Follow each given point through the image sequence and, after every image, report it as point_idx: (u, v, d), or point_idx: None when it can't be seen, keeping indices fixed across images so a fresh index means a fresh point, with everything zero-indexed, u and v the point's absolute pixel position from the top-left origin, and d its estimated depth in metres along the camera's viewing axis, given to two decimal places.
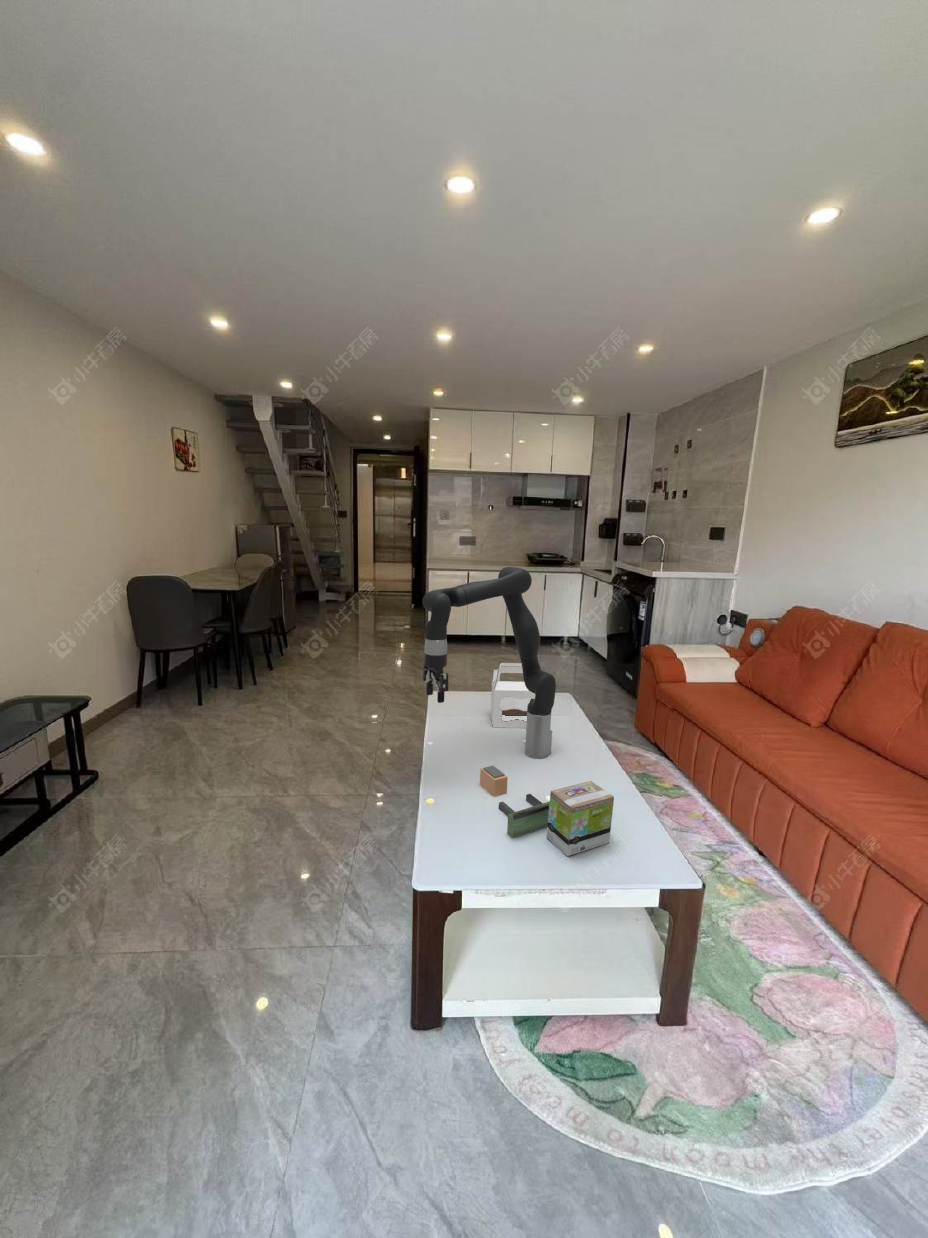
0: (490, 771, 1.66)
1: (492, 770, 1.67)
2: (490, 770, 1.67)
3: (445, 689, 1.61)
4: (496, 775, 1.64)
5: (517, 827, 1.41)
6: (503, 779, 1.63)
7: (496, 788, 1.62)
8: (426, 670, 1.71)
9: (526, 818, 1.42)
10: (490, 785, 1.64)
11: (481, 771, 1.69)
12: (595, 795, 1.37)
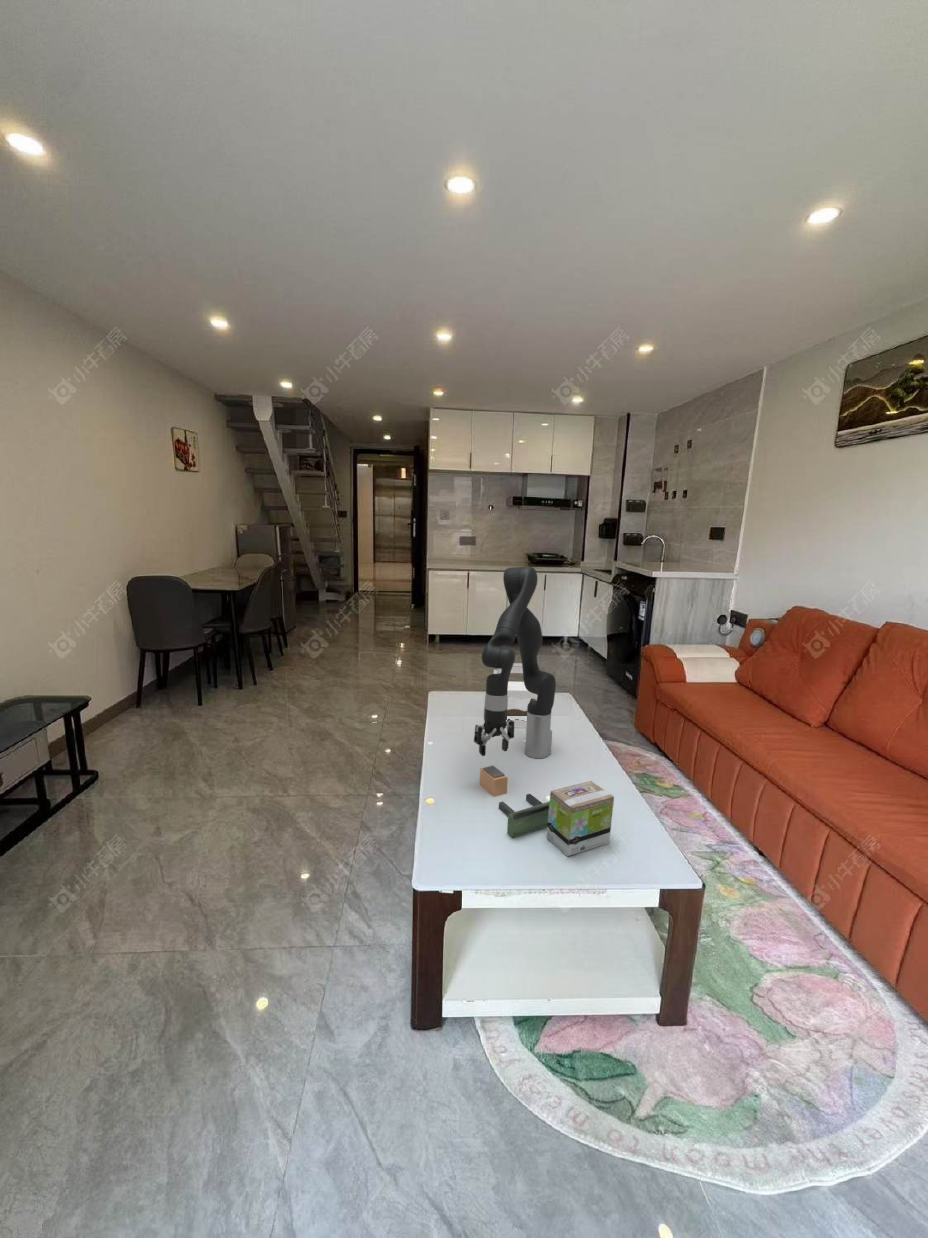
0: (490, 771, 1.66)
1: (492, 770, 1.67)
2: (490, 770, 1.67)
3: None
4: (496, 775, 1.64)
5: (517, 827, 1.41)
6: (503, 779, 1.63)
7: (496, 788, 1.62)
8: None
9: (526, 818, 1.42)
10: (491, 785, 1.64)
11: (481, 771, 1.69)
12: (595, 795, 1.37)
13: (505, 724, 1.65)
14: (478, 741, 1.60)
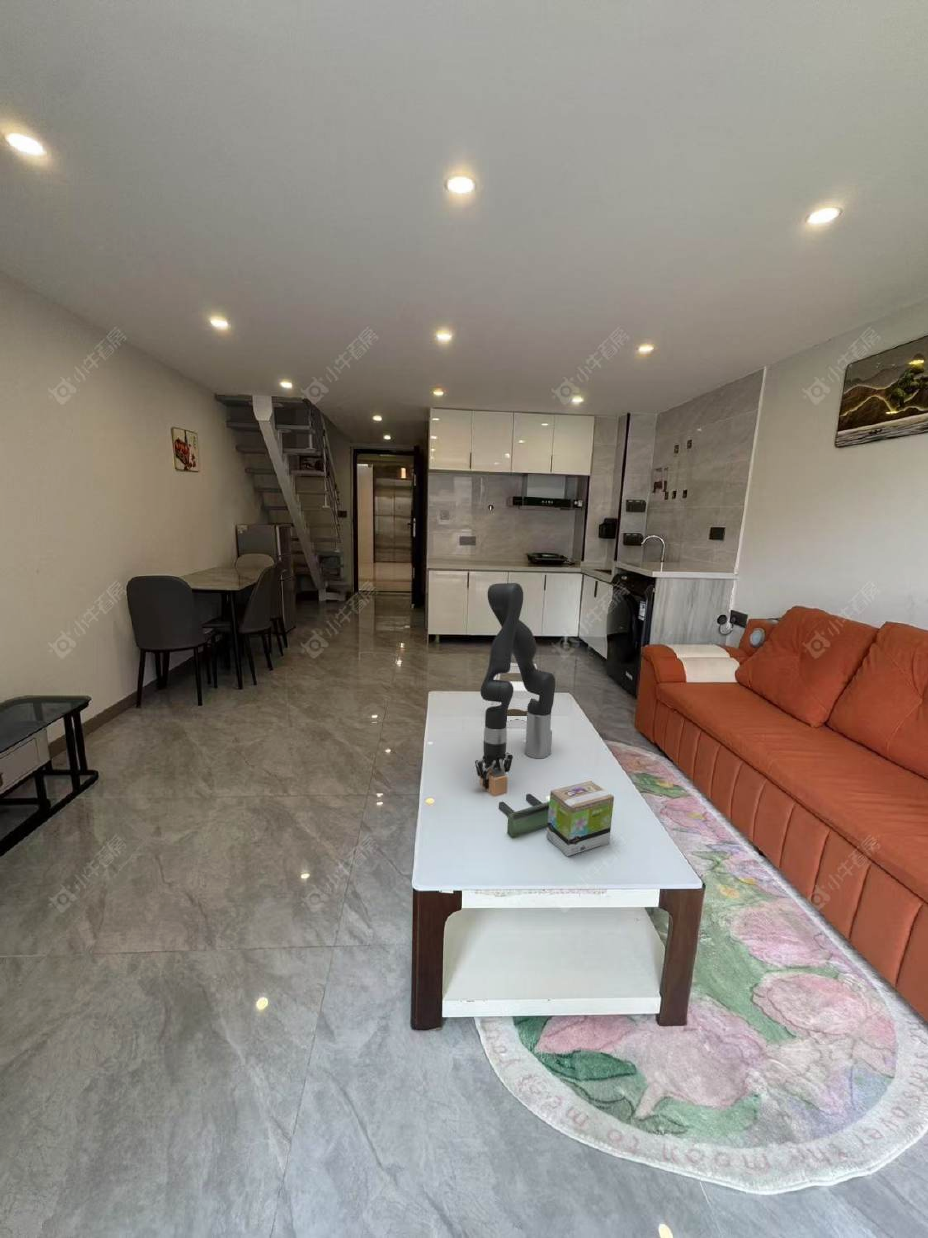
0: None
1: (492, 770, 1.67)
2: None
3: None
4: (496, 775, 1.64)
5: (517, 827, 1.41)
6: (503, 779, 1.63)
7: (496, 787, 1.62)
8: None
9: (526, 818, 1.42)
10: (491, 784, 1.64)
11: None
12: (595, 795, 1.37)
13: (504, 756, 1.66)
14: (481, 775, 1.63)
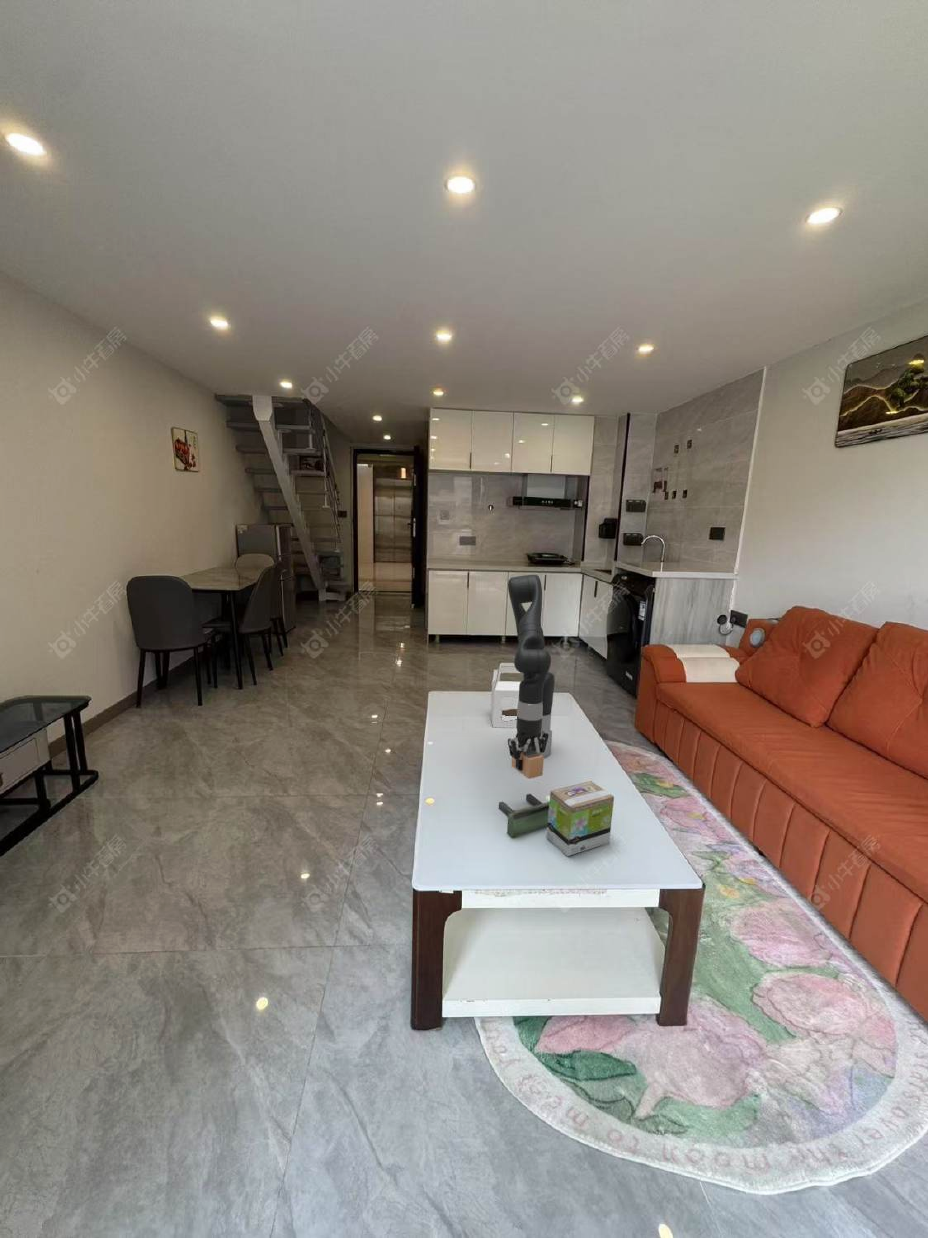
0: None
1: None
2: None
3: None
4: (531, 755, 1.48)
5: (517, 827, 1.41)
6: (539, 759, 1.47)
7: (531, 769, 1.46)
8: None
9: (526, 818, 1.42)
10: (525, 765, 1.48)
11: None
12: (595, 795, 1.37)
13: (539, 734, 1.50)
14: (515, 755, 1.47)
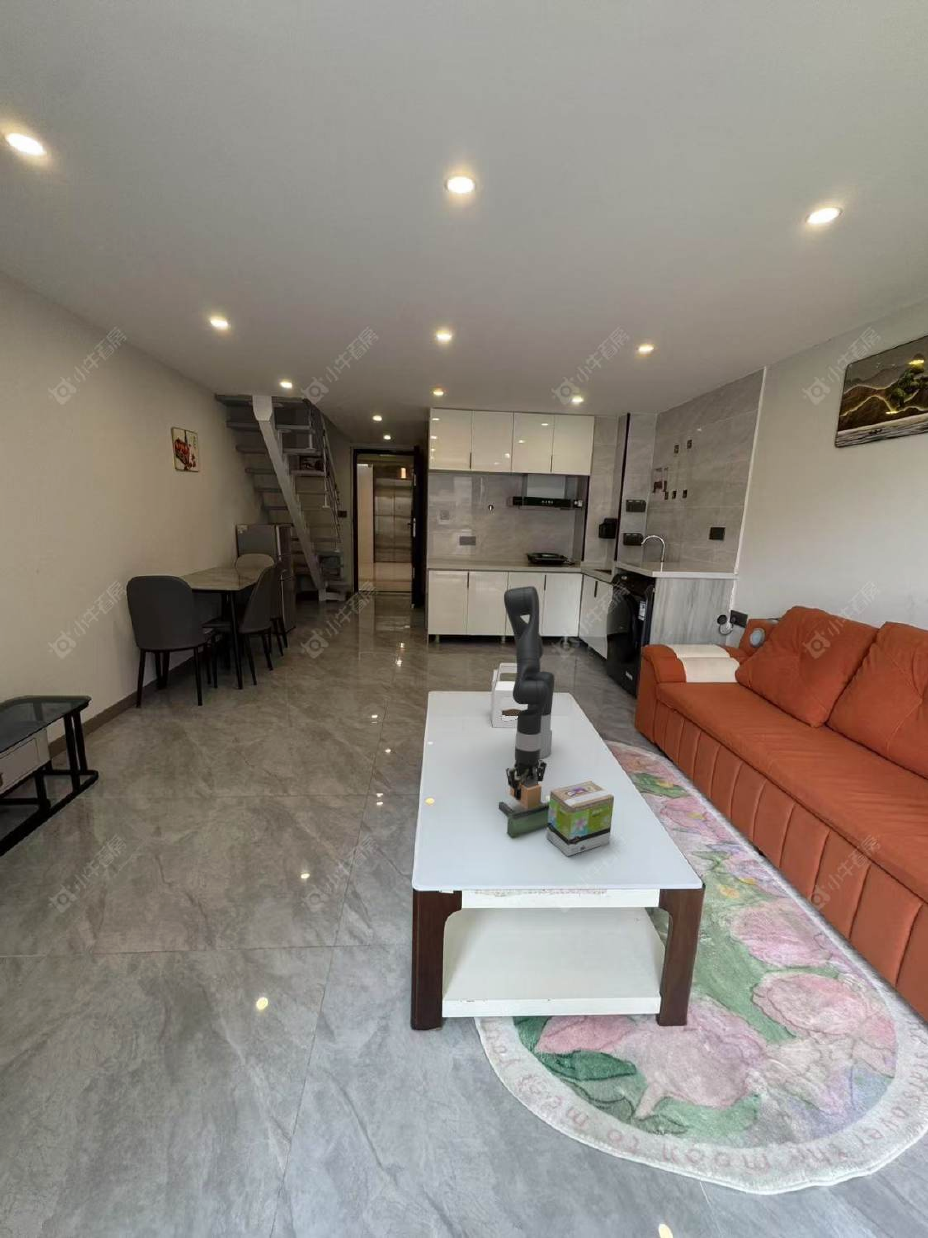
0: None
1: None
2: None
3: None
4: (529, 784, 1.49)
5: (517, 827, 1.41)
6: (537, 789, 1.49)
7: (529, 798, 1.48)
8: None
9: (526, 818, 1.42)
10: (523, 795, 1.49)
11: None
12: (595, 795, 1.37)
13: (538, 764, 1.52)
14: (513, 785, 1.49)
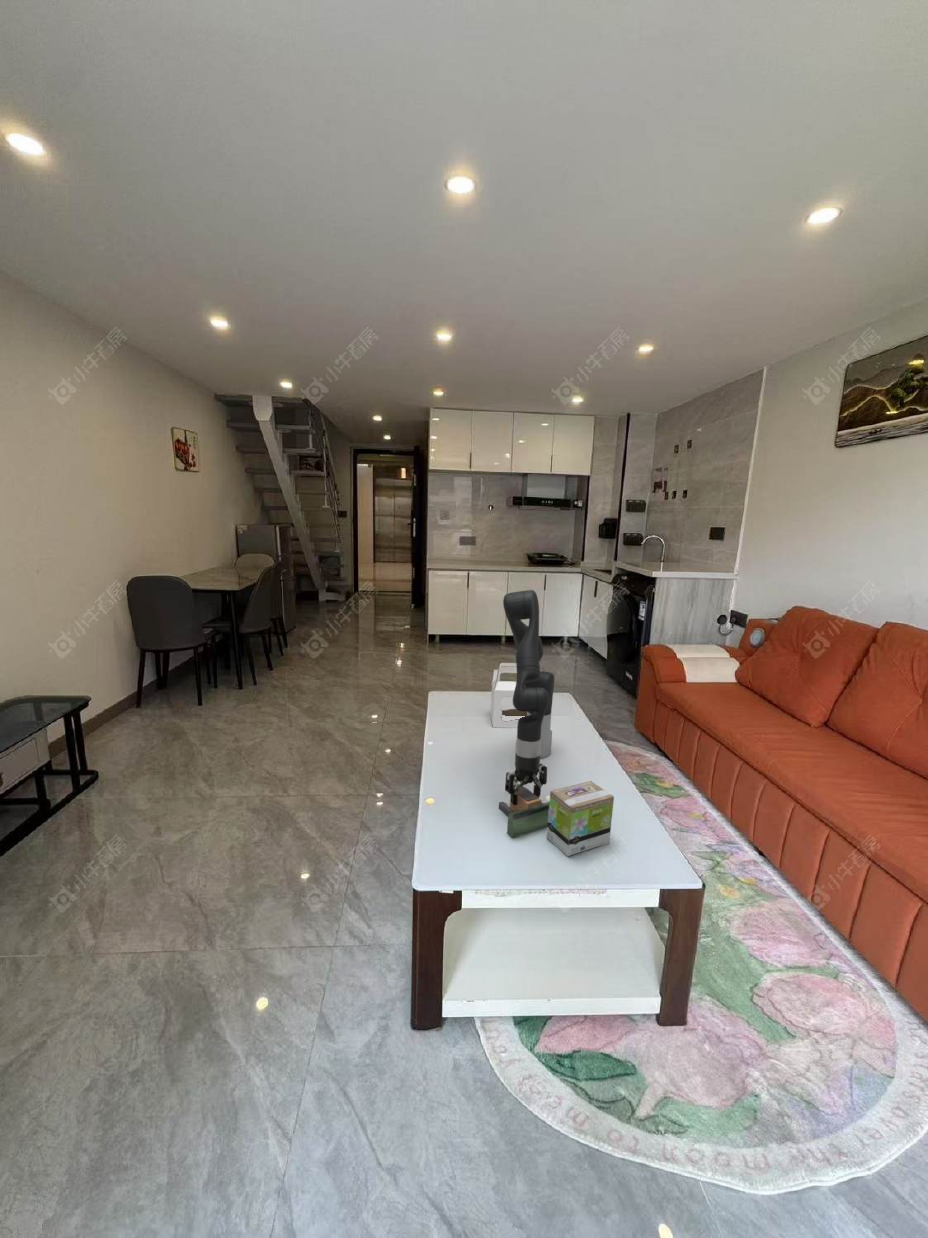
0: (522, 793, 1.53)
1: (523, 792, 1.53)
2: (522, 792, 1.53)
3: None
4: (529, 798, 1.50)
5: (517, 827, 1.41)
6: (537, 802, 1.50)
7: None
8: None
9: (526, 818, 1.42)
10: None
11: None
12: (595, 795, 1.37)
13: (538, 770, 1.52)
14: (510, 790, 1.48)
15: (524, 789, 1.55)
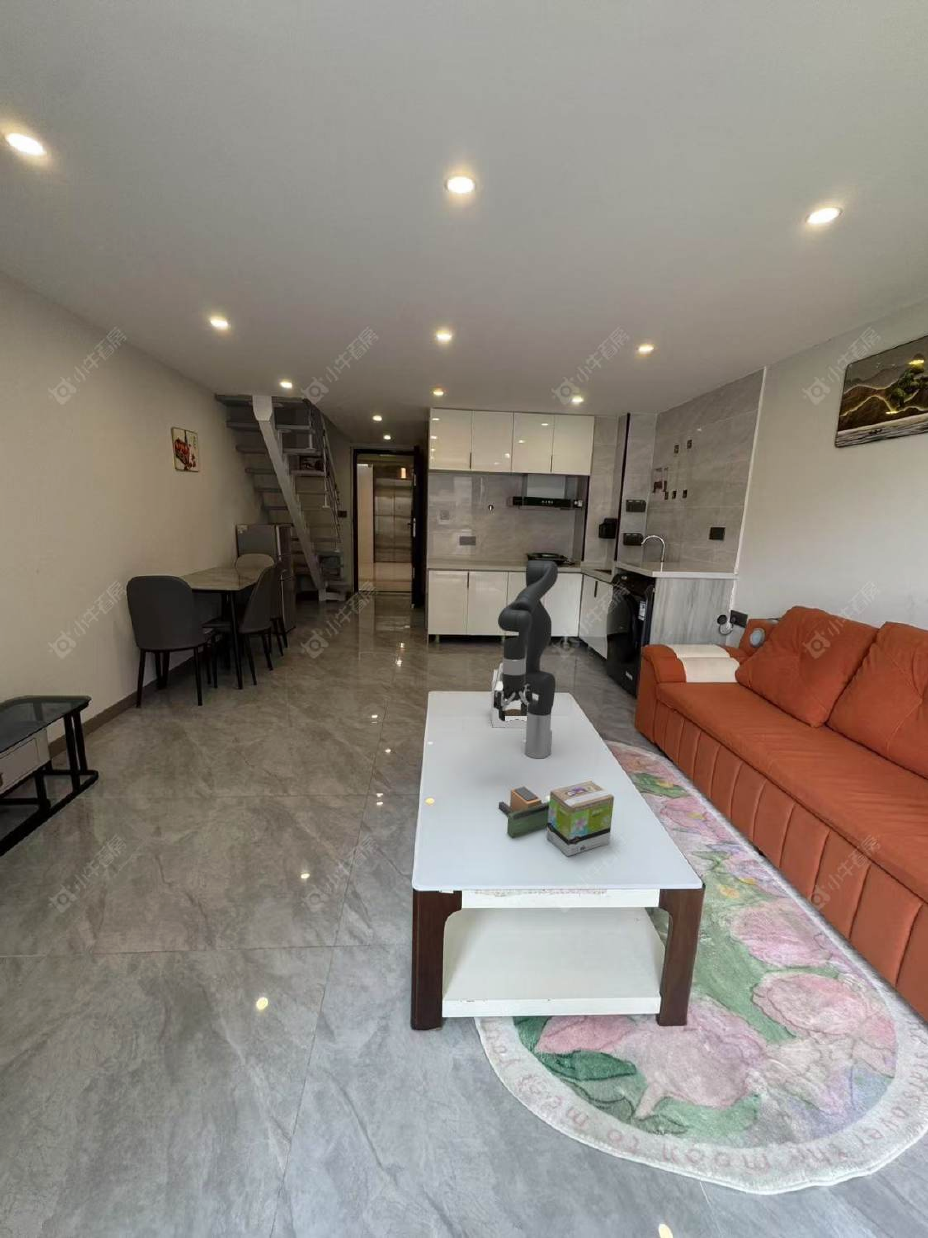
0: (522, 793, 1.53)
1: (524, 792, 1.53)
2: (522, 792, 1.53)
3: None
4: (529, 798, 1.50)
5: (517, 827, 1.41)
6: (537, 802, 1.50)
7: None
8: None
9: (526, 818, 1.42)
10: None
11: (512, 793, 1.55)
12: (595, 795, 1.37)
13: (523, 688, 1.63)
14: (498, 706, 1.59)
15: (524, 789, 1.55)
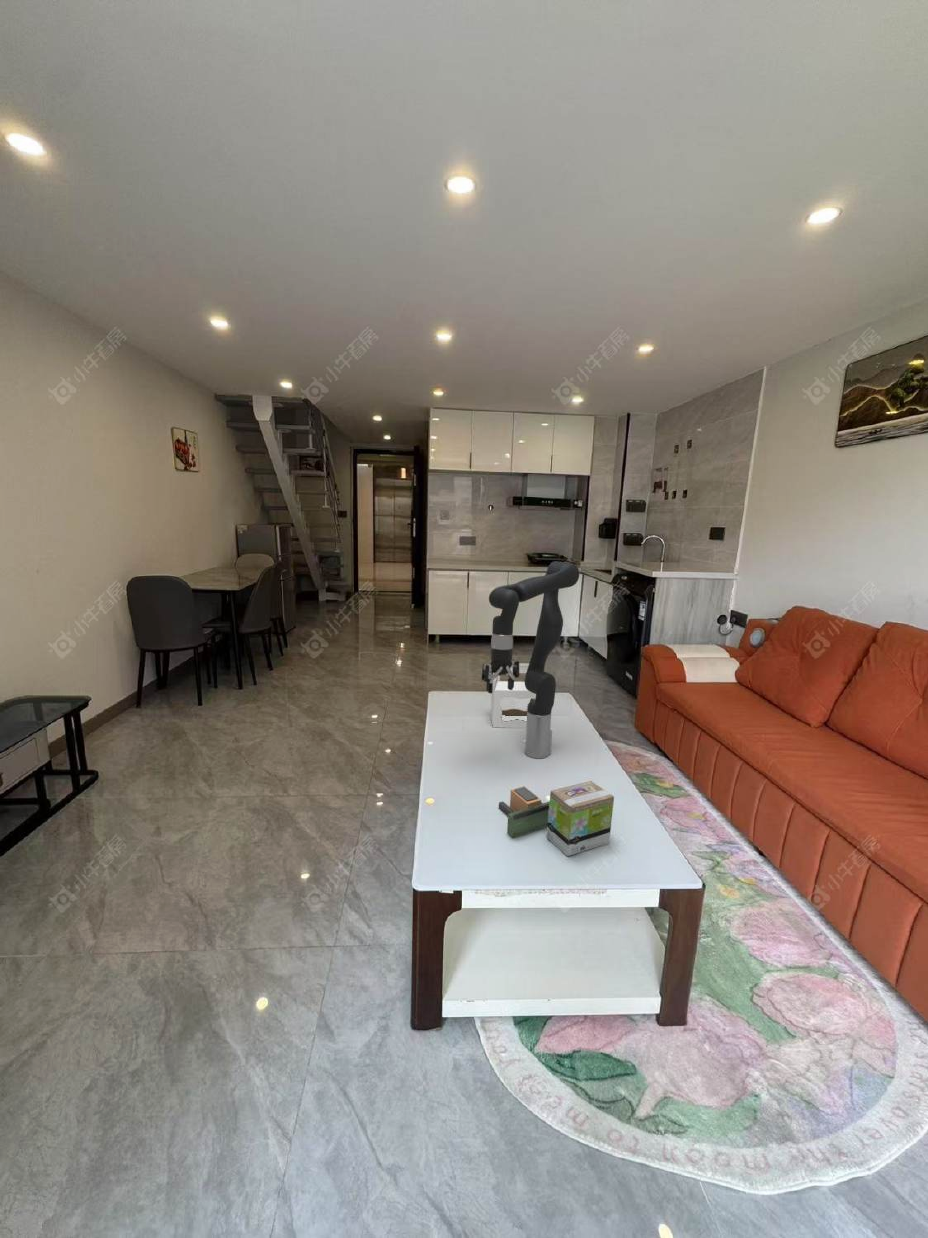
0: (522, 793, 1.53)
1: (524, 792, 1.53)
2: (522, 792, 1.53)
3: None
4: (529, 798, 1.50)
5: (517, 827, 1.41)
6: (536, 802, 1.50)
7: None
8: None
9: (526, 818, 1.42)
10: None
11: (512, 793, 1.55)
12: (595, 795, 1.37)
13: (511, 663, 1.74)
14: (485, 678, 1.70)
15: (524, 789, 1.55)
